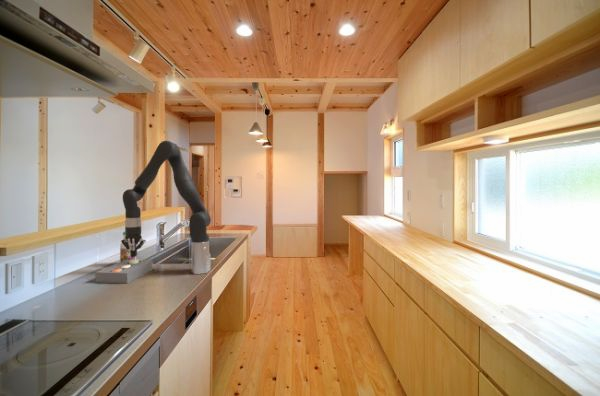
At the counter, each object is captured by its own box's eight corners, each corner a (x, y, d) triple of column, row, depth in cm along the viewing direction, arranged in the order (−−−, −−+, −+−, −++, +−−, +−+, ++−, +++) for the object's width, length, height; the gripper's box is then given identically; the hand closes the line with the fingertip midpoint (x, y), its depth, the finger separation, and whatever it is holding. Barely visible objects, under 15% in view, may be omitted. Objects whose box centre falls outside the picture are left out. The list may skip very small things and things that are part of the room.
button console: (152, 269, 152) (152, 260, 152) (127, 283, 132) (127, 273, 131) (125, 268, 153) (124, 260, 153) (95, 282, 132) (95, 272, 132)
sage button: (140, 265, 151) (140, 258, 151) (135, 268, 146) (135, 261, 146) (132, 265, 151) (132, 258, 151) (127, 268, 147) (127, 260, 146)
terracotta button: (124, 276, 138) (124, 268, 138) (118, 279, 133) (118, 271, 133) (116, 276, 138) (116, 268, 138) (109, 279, 134) (109, 271, 133)
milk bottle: (121, 263, 162) (121, 230, 161) (136, 262, 165) (136, 230, 164) (119, 267, 155) (118, 233, 154) (134, 266, 158) (134, 232, 157)
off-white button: (132, 272, 144) (132, 264, 144) (127, 275, 140) (127, 267, 140) (124, 271, 145) (124, 264, 144) (119, 274, 140) (118, 267, 140)
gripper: (149, 224, 151) (149, 255, 152) (126, 224, 151) (126, 254, 152) (140, 227, 143) (141, 259, 144) (116, 226, 144) (117, 258, 145)
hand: (133, 256), depth 148 cm, fingers closed
